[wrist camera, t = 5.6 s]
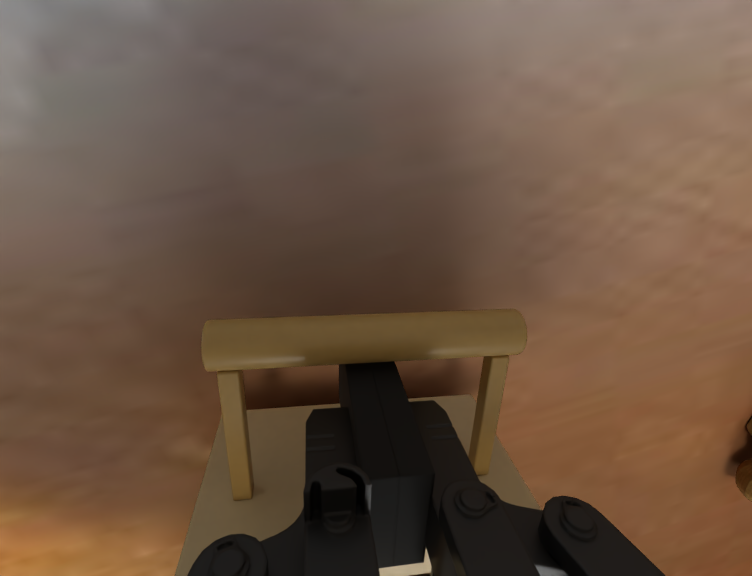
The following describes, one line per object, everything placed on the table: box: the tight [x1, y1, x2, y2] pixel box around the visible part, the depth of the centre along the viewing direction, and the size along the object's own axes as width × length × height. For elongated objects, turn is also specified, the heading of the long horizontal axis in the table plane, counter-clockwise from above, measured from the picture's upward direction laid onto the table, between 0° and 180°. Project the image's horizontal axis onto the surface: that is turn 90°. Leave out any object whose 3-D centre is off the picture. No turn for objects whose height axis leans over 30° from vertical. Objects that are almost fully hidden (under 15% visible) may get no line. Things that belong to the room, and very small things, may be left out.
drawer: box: [175, 309, 541, 576], centre depth 16 cm, size 20×11×7 cm, turn 178°
